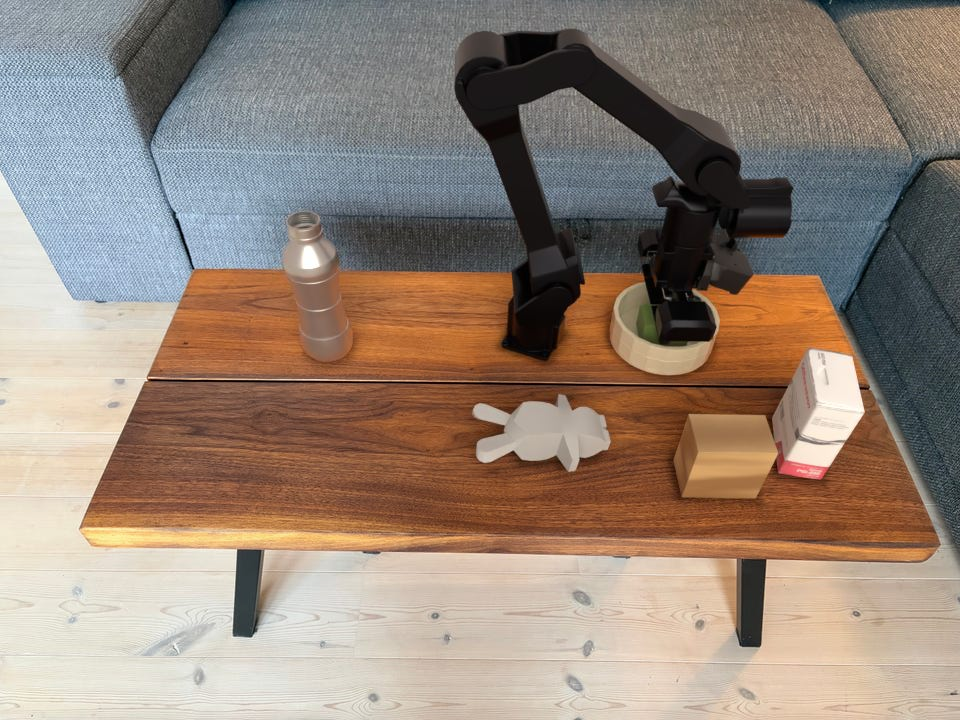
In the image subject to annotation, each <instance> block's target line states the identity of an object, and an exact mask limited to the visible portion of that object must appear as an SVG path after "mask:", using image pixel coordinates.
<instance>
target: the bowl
mask: <svg viewBox="0 0 960 720" xmlns="http://www.w3.org/2000/svg"><path fill="white" fill-rule="evenodd" d="M692 291H693V294H694V295H695V296H698V297H699V298H700V299H701V301H705V302H706V303H707V304H708V305H709V306H710V308H711V311H712V314H713V317H714V320H715V323H716V326H717V328H716V331H715V334H714V337H713V339H712V340H711V341H709V342H688V343H687V345H658V344H653V343H650V342H648V341H646V340H644V339H642V338H639V335H638V331H637V326H636V322H637V318H638V313H639V309H640V304H650V301H649V297H648V293H647V289H646V284H645V281H642V282H637V283H634V284H633V285H631V286H629V287H626V288H625V289H623V290H622V291H621V293H620V294H619V295H617V297H616V298H615V301H614V305H613V309H612V313H611V321H610V325H609V340H610V344H611V346H612V348H613V350H614V351H615V353H616V354H617V355H618V356H619V358H621V359H622V360H623V361H624V362H626V363H627V364H629V365H630V366H632V367H634V368H636V369H638V370H641V371H643V372H647V373H650V374H654V375H660V376H678V375H684V374H688V373H691V372H693V371H695V370H697V369H699V368H700V367H702V366H703V365H704V363H706V362H707V360H708V359H709V357H710V355H711V354H712V350H713V348H714V345H715V341H716V338H717V336H718V333H719V329H720V322H721V319H720V317H719V313H718V311H717V308H716V307H715V306H714V304H713V303H712V302H711V301H710V300H709V298H707V297H706V296H704V295H703V294H702V293H700V291H697V290H696V289H695V288H693V289H692ZM687 299H688V298H687Z"/></svg>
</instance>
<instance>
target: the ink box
mask: <svg viewBox="0 0 960 720" xmlns="http://www.w3.org/2000/svg"><path fill="white" fill-rule="evenodd" d="M865 412H866V411H865V407H864V402H863V398H862V393H861V390H860V385H859V381H858V377H857V371H856V367H855V363H854V358H853V355H852V354H849V353H844V352H840V351H834V350H830V349H823V348H817V347H808V348H807V349H806V351H805V352H804V355H803V356H802V358H801V360H800V362H799V364H798V366H797V368H796V370H795V372H794V374H793V376H792V378H791V380H790V382H789V384H788V386H787V388H786V390H785V392H784V394H783V396H782V398H781V400H780V402H779V403H778V405H777V407H776V410H775V412H774V413H773V415H772V417H771V421H772V430H773V431H772V432H773V439H774V442H775V445H776V448H777V451H778V455H777V457H776V459H775V460H776V468H777V474H779V475H786V476H791V477H799V478H802V479H803V478H804V479H811V480H819V481H820V480H822V479H823V477H824V476H825V474H826V473H827V471H828V470H829V468H830V466H831V465H832V464H833V462H834V460H835V459H836V457H837V456H838V454H839V453H840V451H841V449H842V448H843V446H844V444H845V443H846V442H847V440H848V439H849V437H850V436H851V434H852V433H853V431H854V430H855V428H856V426H857V425H858V423H859V422H860V421H861V419H862V418H863V416H864V414H865Z"/></svg>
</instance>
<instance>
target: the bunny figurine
mask: <svg viewBox="0 0 960 720" xmlns="http://www.w3.org/2000/svg"><path fill="white" fill-rule="evenodd" d="M471 414H472V416H473V418H474V419H477V420H481V421H484V422H489V423H492V424H496V425H501V426H504V427H503V433H501V434H496V435H493V436H488V437H484V438H481V439H480V440H478V441H477V442H476V450H475V457H476V458H477V460H478V461H479V462H481V463H483V464H486V463H487V464H488V463H492V462H493V461H496V460H498V459H499V458H502V457H503V456H505V455H507V454H509V453H511V452H515V454H516V455H517V456H518V457H519V458H520V459H521V460H522V461H529V462H534V461H535V462H537V461H538V462H539V461H544V460H545V461H546V460H548V459H551V458H553V457H557V459H558V460H559V461H560V462H561V464H562V466H563V467H564V468H565V470H566V471H567V472H568V473H570V472H576V470H577V467H578V466H579V463H580V458H581V459H582V458H584V459H586V458H590V457H593V456H595V455H597V454H598V453H600V452H602V451H608V450H609V447H610V444H611V443H612V440H611V437H610V433H609V430H608V429H607V426H608V425H607V422H606V417H605V415H604V414H598V412H597V411H595V410H594V409H593V408H591V407H588V406H579V407H577V408H574V409H572V407H571V405H570V402H569V400H568V398H567V396H566V394H561V393H558V394H557V398H556V402H555V404H552V403H550V402H544V401H535V400H534V401H533V400H531V401H523V402H522V403H521V404H520V405H518V407H516V409H515V410H514V411H513V412H512V413H511V414H510V413H508V412H505V411H503V410H501V409H498V408H496V407H494V406H491V405H489V404H486V403H482V402H479V403H477V404H475V405H474V407H473V409H472V410H471Z"/></svg>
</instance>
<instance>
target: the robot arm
mask: <svg viewBox="0 0 960 720" xmlns="http://www.w3.org/2000/svg"><path fill="white" fill-rule="evenodd" d="M454 55H455V56H454V95H455V98H456V100H457V103H458V104H459V106H460V107H461V109H462V111H463V112H464V114H465V116H466V117H467V119H468V121H469V122H470V124H471V126H472V127H473V129H474V130H475V131H476V132H477V133H478V134H479V135H480V137H482V139H484V141H485V142H486V144H487V145H488V147H489V148H488V149H489V150H490V153H491V155H492V159H493V161H494V163H495V167H496V169H497V172H498V174H499V178H500V180H501V183H502V185H503V189H504V191H505V194H506V196H507V199H508V202H509V204H510V208H511V210H512V213H513V216H514V218H515V221H516V224H517V226H518V229H519V232H520V234H521V237H522V240H523V243H524V246H525V248H526V256H527V258H526V259H525V260H523V262H521V263H520V264H518V265H516V266H515V267H514V268H513V269H512V270H511V282H512V297H511V299H509V301H508V303H507V319H506V334H505V336H504V338H503V339H502V341H501V343H500V346H501V348H503V349H505V350H509V351H512V352H515V353H518V354H521V355H524V356H527V357H531V358H533V359H536V360H540V361H544V362H547V361H548V360H549V359H550V357H551V356H552V354H553V352H554V351H556V350H557V349H558V347H559V346H560V344H561V342H562V340H563V338H564V332H565V325H566V314H565V313H566V312H567V311H568V309H569V307H571V306H572V305H574V304H575V303H576V302H577V301H578V300H579V299H580V298H581V295H582V291H581V285H583V286H584V285H586V279H585V275H584V269H583V263H582V259H581V258H582V257H581V253H580V249H579V248H578V247H577V246H576V243H575V238H574V231H573V227H567V228H566V229H564V230H560V228H558V226H557V225H556V223H555V222H554V219H553V215H552V213H551V210H550V206H549V204H548V199H547V197H546V194H545V190H544V188H543V185H542V182H541V179H540V176H539V173H538V169H537V166H536V163H535V160H534V158H533V157H534V156H533V154H532V151H531V147H530V145H529V142H528V139H527V135H526V132H525V130H524V126H523V123H522V120H521V114H520V113H521V112H520V106H522V105H527V104H530V103H532V102H535V101H538V100H540V99H542V98H543V97H546V96H548V95H550V94H552V93H555V92H557V91H559V90H564V89H571V88H573V89H574V90H576V91H577V92H579V93H580V94H581V95H582V96H584V97H585V98H586V99H588V100H589V101H590V102H592V103H593V104H594V105H596V106H597V107H598V108H600V109H601V110H603V111H604V112H605V113H607V114H608V115H609V116H611V117H612V118H614V119H615V120H616V121H618V122H619V123H620V124H622V125H623V126H624V127H626V128H627V129H629V130H630V131H632V132H633V133H635V135H637V136H639V138H641V139H643V140H644V141H645V142H647V143H648V144H650V146H652V147H653V148H654V149H655V150H656V151H657V152H658V153H659V155H661V156H662V158H663V159H664V161H665V162H666V163H667V165H668V166H669V168H670V170H672V172H673V173H674V174H675V175H676V176H677V177H678V178H679V179H680V181H678V180H675V179H674V177H673V176H672V175H668V177H666V179H664V180H662V181H659V182H657V183H655V184H654V185H653V186H652V187H651V191H652V194H653V197H654V200H655V204H656V206H657V207H658V208H666V211H665V215H664V218H663V224H662V227H660V228H647V229H646V230H644V231H642V232H641V233H640V234H638V240H637V245H636V246H637V250H638V255H639V258H640V259H645V258H647V257H648V263H642V264H641V272H642V276H643V279H644V282H645V284H646V289H647V293H648V297H649V301H650V304H661V305H651V310H652V314H653V318H654V322H655V326H656V330H657V334H658V338H659V343H660V344H661V345H667V344H669V343H670V342H671V341H686V342H709V341H711V340H712V339H713V337H714V334H715V331H716V328H717V326H716V323H715V320H714V317H713V314H712V311H711V308H710V306H709V305H708V304H707V303H706V302H705V301H701V299H700V298H699V297H698V296H695V295H694V294H693V291H692V289H695V290H696V291H698V292H708V289H709V286H711V287H713V288H716V289H719V290H723V291H726V292H729V295H733V296H736V295H739V293H740V292H741V291H742V289H743V288H744V287H745V286H746V285H747V283H749V281H750V280H751V279H752V278H753V276H754V271H753V269H752V267H751V264H750V261H749V259H748V257H747V255H746V254H744V252H743V251H742V249H741V248H740V247H738V245H739V243H738V240H737V239H782V238H784V237H785V236H787V235H788V233H789V231H790V229H791V226H792V222H793V220H792V212H793V201H792V194H793V192H794V186H793V185H792V183H791V181H790V180H789V178H788V177H787V176H785V177H773V178H743V177H742V175H741V165H742V159H741V157H740V155H739V153H738V151H737V149H736V147H735V145H734V143H733V141H732V139H731V138H730V135H729V134H728V132H727V130H726V128H725V127H724V126H723V124H721V123H720V122H719V121H717V120H715V119H712V118H710V117H709V116H706V115H705V114H702V113H700V112H698V111H696V110H692V109H687V108H683V107H681V106H678V105H676V104H674V103H672V102H671V101H670V100H668V99H667V98H665V97H664V95H662V94H660V93H659V92H658V91H657V90H656V89H654V88H652V86H650V85H649V84H647V82H645V81H644V80H642V79H641V78H640V77H639V76H637V75H636V74H635V73H634V72H632V71H630V70H629V69H628V68H627V67H626V66H625V65H623V64H621V63H620V62H619V61H618V60H616V59H615V58H614V57H613V56H612V55H610V54H609V53H607V52H606V51H605V50H603V49H602V48H601V47H600V46H598V45H597V44H595V42H593V41H592V40H591V39H590V37H589V35H588V34H587V33H586V32H585V31H583V30H580V29H579V28H565V29H559V30H554V31H537V30H536V31H535V30H516V31H510V32H504V33H499V34H497V33H496V32H494V31H489V30H479V31H474V32H472V33H471V34H469V35H467V36H466V37H464V39H463V40H461V42H459V44H458V47H457V49H456V52H455V54H454ZM717 223H718V225H719V227H720V229H722V230H725V231H722V232H721V233H720V234H717V235H716V236H715V237H714V234H715V231H716V228H717V227H716V226H717ZM687 298H688V299H687Z"/></svg>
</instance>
